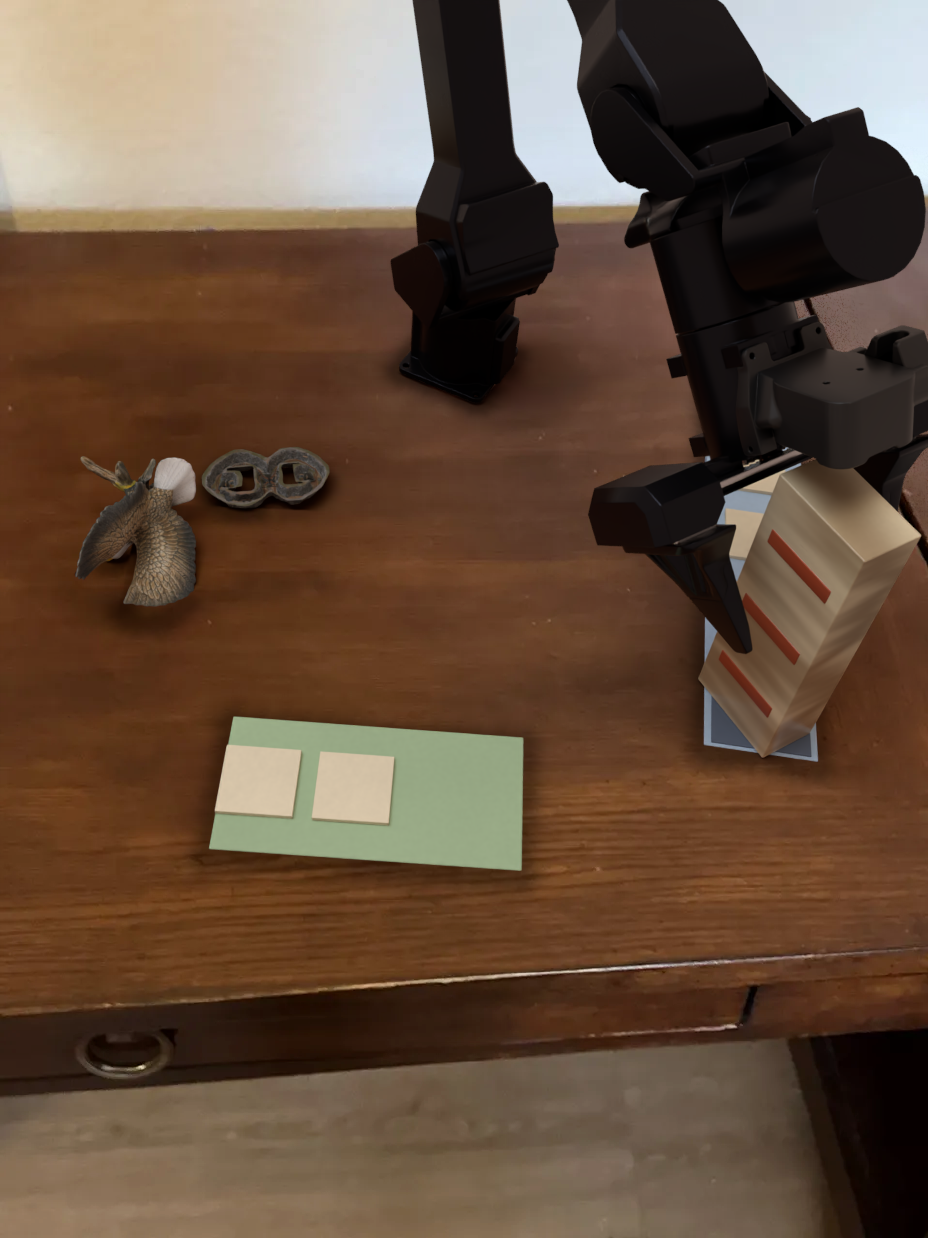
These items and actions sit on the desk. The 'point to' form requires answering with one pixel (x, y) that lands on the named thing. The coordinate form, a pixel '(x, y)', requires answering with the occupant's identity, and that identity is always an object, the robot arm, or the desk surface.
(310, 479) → the corroded twin loop
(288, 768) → the left mat
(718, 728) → the right mat
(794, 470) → the red striped wooden block
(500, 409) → the desk surface
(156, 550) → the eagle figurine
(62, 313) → the desk surface
